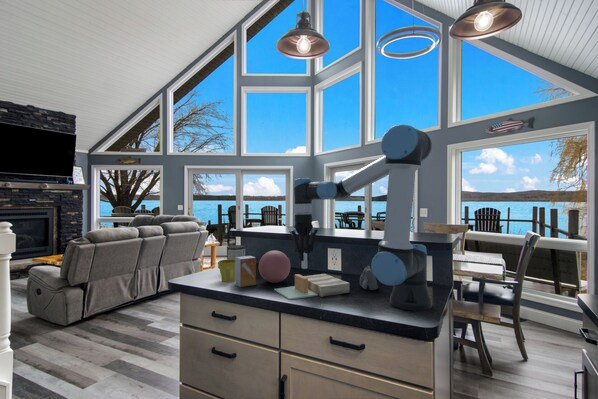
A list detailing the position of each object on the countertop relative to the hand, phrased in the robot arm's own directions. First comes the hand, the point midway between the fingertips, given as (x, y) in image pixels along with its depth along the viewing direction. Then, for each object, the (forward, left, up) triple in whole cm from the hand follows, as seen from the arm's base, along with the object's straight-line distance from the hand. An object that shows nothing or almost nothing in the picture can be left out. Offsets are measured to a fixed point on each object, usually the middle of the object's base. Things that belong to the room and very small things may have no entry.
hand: (304, 268), depth 139 cm
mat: (+1, +4, -10) cm, 11 cm away
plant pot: (+36, +24, -11) cm, 44 cm away
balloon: (+23, +3, -11) cm, 25 cm away
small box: (+24, +19, -11) cm, 32 cm away
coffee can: (+55, +15, -11) cm, 58 cm away
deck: (+1, -10, -10) cm, 14 cm away
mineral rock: (-6, -30, -11) cm, 33 cm away
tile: (+1, 0, -7) cm, 7 cm away
